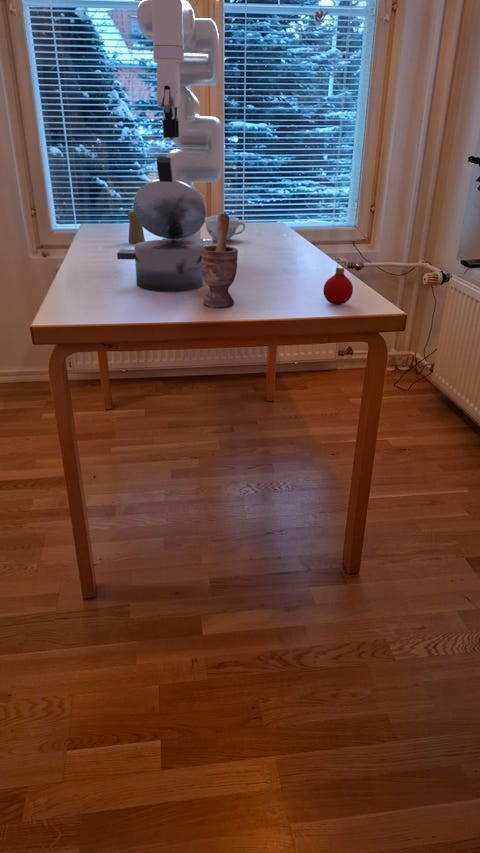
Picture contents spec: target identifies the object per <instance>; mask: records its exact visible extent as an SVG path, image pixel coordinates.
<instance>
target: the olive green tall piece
mask: <svg viewBox="0 0 480 853" xmlns="http://www.w3.org/2000/svg"><path fill="white" fill-rule="evenodd" d="M127 219H128V220H129V227H128V242H129V243H128V244H130V243H132V244H131V245H135V244H137V243H140V242H144V241H146V239H145V234H144V233H145V232H144V227H143V226H142V225H141V224H140V223H139V222H138V220H137V219H136V216H135V214H134V209H133V210H129V211H128V212H127Z"/></svg>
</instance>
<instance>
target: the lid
mask: <svg viewBox="0 0 480 853" xmlns="http://www.w3.org/2000/svg"><path fill="white" fill-rule="evenodd" d="M156 167H157V173H158V174H157V175H158V179H154V180H151V181H148V182H146V183H145V184H143V185H142V186H141V187H139V189H138V190H137V192H136V193H135V196H134V199H133V208H132V209H133V210H134V214H135V216H136V219H137V220H138V222H139V223H140V224H141V225H142V227H143V229H145V230H146V231H147V232H149V233H151V234H152V235H154V236H157V237H160V238H162V239H163V238H167V239H181V238H186V237H189V236H191V235H193V234H195V233H196V232H197V231H198V230H200V231H201V228H202V227H203V225H205V217H207V208H206V204H205V201H204V199H203V197H202V196H201V194H200V193H199V192H198V190H197V189H196V188H195V187H194V188H195V189H196V190H197V191H196V190H195V189H194V188H192V187H191V186H189V185H187V184H186V183H183V182H181V181H178V180H173V174H172V166H171V158H168V157H167V156H166V157H163V156H161V157H160V156H157V158H156Z"/></svg>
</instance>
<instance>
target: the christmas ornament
mask: <svg viewBox="0 0 480 853" xmlns="http://www.w3.org/2000/svg"><path fill="white" fill-rule="evenodd" d="M339 265H342V267H338V266H339ZM353 292H354V288H353V283H352V282H351V280H350V279H349V278H348V277H347V276H346V275H345V268H344V264H343V263H342V262H341V263H340V262H339V263H338V264H337V267H336V268H335V273H334V275H332V276H331V277H329V278H328V279H327V280H326V281H325V283H324V285H323V296H324V298H325V299H326V301H327V302H328V303H330V304H331V305H335V306H340V305H341V306H342V305H344V304H346V303H348V301H350V299H351V298H352V296H353Z"/></svg>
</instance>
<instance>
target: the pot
mask: <svg viewBox="0 0 480 853" xmlns="http://www.w3.org/2000/svg"><path fill="white" fill-rule="evenodd" d="M133 247H134V248H133V249H131V248H130V249H124V248H121V249H120V250H118V251H117V253H116V255H117V256H116V258H117V260H129V261H130V260H131V261H132V260H134V263H135V278H136V279H135V280H136V287H137V288H140V289H141V290H145V291H151V292H159V293H180V292H190V291H194V290H197V289H200V288H201V287H203V286H204V279H203V275H202V269H201V248H202V247H204V246H203V245H202V244H200V243H197V242H193V241H186V240H184V239H167V238H163V237H162V239H152V240H145V241H144V242H140V243H137V244H133Z"/></svg>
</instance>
